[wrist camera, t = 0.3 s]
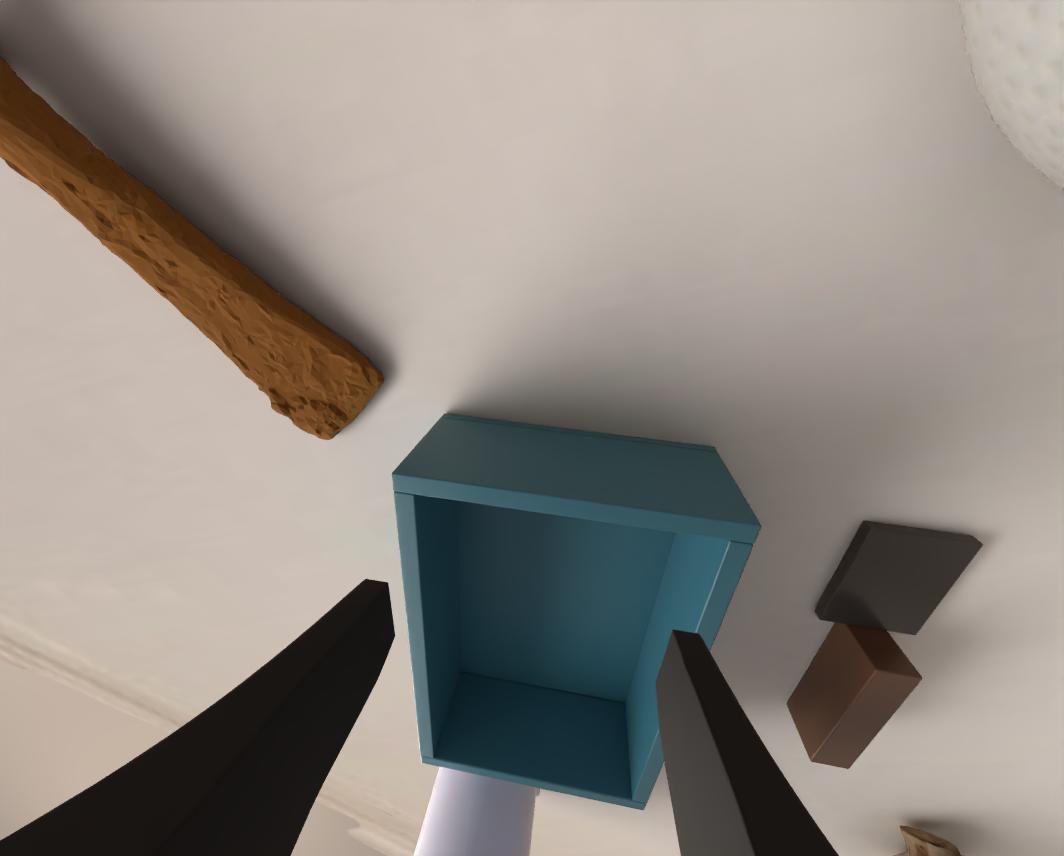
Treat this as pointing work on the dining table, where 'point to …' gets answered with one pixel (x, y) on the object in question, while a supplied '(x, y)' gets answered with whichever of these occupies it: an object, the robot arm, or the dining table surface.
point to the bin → (558, 595)
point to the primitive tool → (189, 269)
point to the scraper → (872, 635)
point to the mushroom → (926, 844)
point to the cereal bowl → (1021, 74)
